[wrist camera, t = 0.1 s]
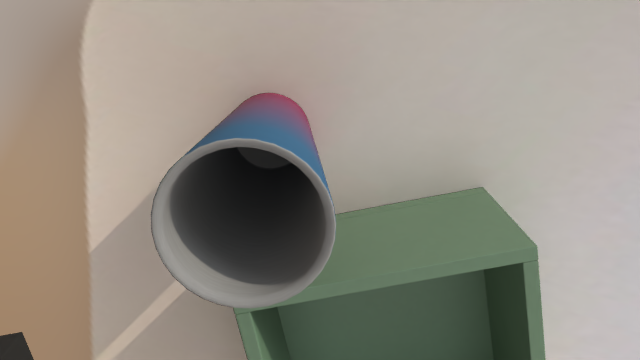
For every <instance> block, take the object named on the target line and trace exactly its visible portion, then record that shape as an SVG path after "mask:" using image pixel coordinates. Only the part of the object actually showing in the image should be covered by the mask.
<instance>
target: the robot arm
mask: <svg viewBox="0 0 640 360" xmlns="http://www.w3.org/2000/svg"><path fill="white" fill-rule="evenodd" d="M0 360H34V359H33V357H32V355H31V352H30V350H29V348H28V345H27V343H26V341H25V338H24V336H23V333H22V332H19V333H14V334H8V335H3V336H0Z"/></svg>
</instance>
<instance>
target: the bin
mask: <svg viewBox="0 0 640 360" xmlns="http://www.w3.org/2000/svg"><path fill="white" fill-rule="evenodd" d="M335 218H336V234H335V242H334V245H333V249H332V252H331V255H330V257H329V259H328V261H327V263H326V265H325V267H324V269H323V270H322V271H321V273H320V274H319V275H318V276H317V277H316V279H315V280H314V281H313V282H312V283H311V284H310V285H309V286H307V287H306V288H305V289H304V290H302V291H301V292H300V293H298V294H297V295H295V296H293V297H291V298H289V299H287V300H285V301H283V302H280V303H277V304H273V305H270V306H266V307H258V308H233V309H234V313H235V314H236V315H235V316H236V320H237V323H238V327H239V330H240V334H241V338H242V341H243V345H244V348H245V352H246V356H247V359H248V360H546V359H545V346H544V333H543V319H542V306H541V292H540V279H539V265H538V250H537V245H536V244H535V243H534V242H533V241H532V240H531V239H530V238H529V237H528V236H527V234H526V233H525V232H524V231H523V230H522V229H521V228H520V227H519V226H518V225H517V224H516V223H515V221H514V220H513V219H512V218H511V217H510V216H509V215H508V214H507V213H506V212H505V211H504V209H503V208H502V207H501V206H500V205H499V204H498V203H497V202H496V201H495V200H494V199H493V197H492V196H491V195H490V194H489V193H488V192H487V191H486V190H485V189H484V188H483V187H481V188H475V189H470V190H465V191H459V192H454V193H449V194H443V195H438V196H432V197H427V198H422V199H416V200H411V201H406V202H400V203H395V204H390V205H384V206H379V207H373V208H368V209H363V210H357V211H352V212H347V213H341V214H336V215H335Z"/></svg>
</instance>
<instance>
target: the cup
mask: <svg viewBox="0 0 640 360" xmlns="http://www.w3.org/2000/svg"><path fill="white" fill-rule="evenodd" d="M151 229H152V235H153V239H154V243H155V247H156V250H157V252H158V254H159V256H160V258H161V260H162V262H163V264H164V265H165V266H166V268H167V269H168V270H169V272H170V273H171V274H172V276H173V277H174V278H175V279H176V280H177V281H179V282H180V283H181V284H182V285H183V286H184V287H185V288H186V289H188V290H189V291H191V292H193V293H194V294H196V295H197V296H199V297H201V298H203V299H205V300H208V301H211V302H213V303H216V304H219V305H223V306H228V307H233V308H258V307H266V306H270V305H273V304H277V303H280V302H283V301H285V300H287V299H289V298H291V297H293V296H295V295H297V294H298V293H300V292H301V291H302V290H304V289H305V288H306V287H307V286H309V285H310V284H311V283H312V282H313V281H314V280H315V279H316V277H317V276H318V275H319V274H320V273H321V271H322V270H323V269H324V267H325V265H326V263H327V261H328V259H329V257H330V255H331V252H332V249H333V245H334V242H335V234H336V218H335V211H334V205H333V202H332V198H331V195H330V192H329V188H328V185H327V182H326V178H325V175H324V172H323V169H322V165H321V162H320V159H319V155H318V152H317V149H316V145H315V142H314V139H313V135H312V132H311V129H310V125H309V122H308V120H307V117H306V115H305V113H304V112H303V110H302V109H301V108H300V107H299V105H298V104H297V103H295V102H294V101H293V100H291V99H290V98H288V97H285V96H283V95H280V94H276V93H263V94H258V95H255V96H252V97H250V98H249V99H247V100H245V101H244V102H243V103H242V104H241V105H240V106H239V107H237V108H236V109H235V110H234V111H233V112H232V113H231V114H230V115H229V116H227V117H226V118H225V119H224V120H223V121H222V122H221V123H220V124H219V125H217V126H216V127H215V128H214V129H213V130H212V131H211V132H210V133H209V134H207V135H206V136H205V137H204V138H203V139H202V140H201V141H200V142H199V143H197V144H196V145H195V146H194V147H193V148H192V149H191V150H190V151H189V152H187V153H186V154H185V155H184V156H183V157H182V158H181V159H180V160H179V161H178V162H177V163H175V164H174V165H173V166H172V167H171V168H170V169H169V171H168V172H167V174H166V175H165V177H164V178H163V179H162V181H161V182H160V185H159V187H158V189H157V192H156V194H155V197H154V200H153V206H152V212H151Z"/></svg>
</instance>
